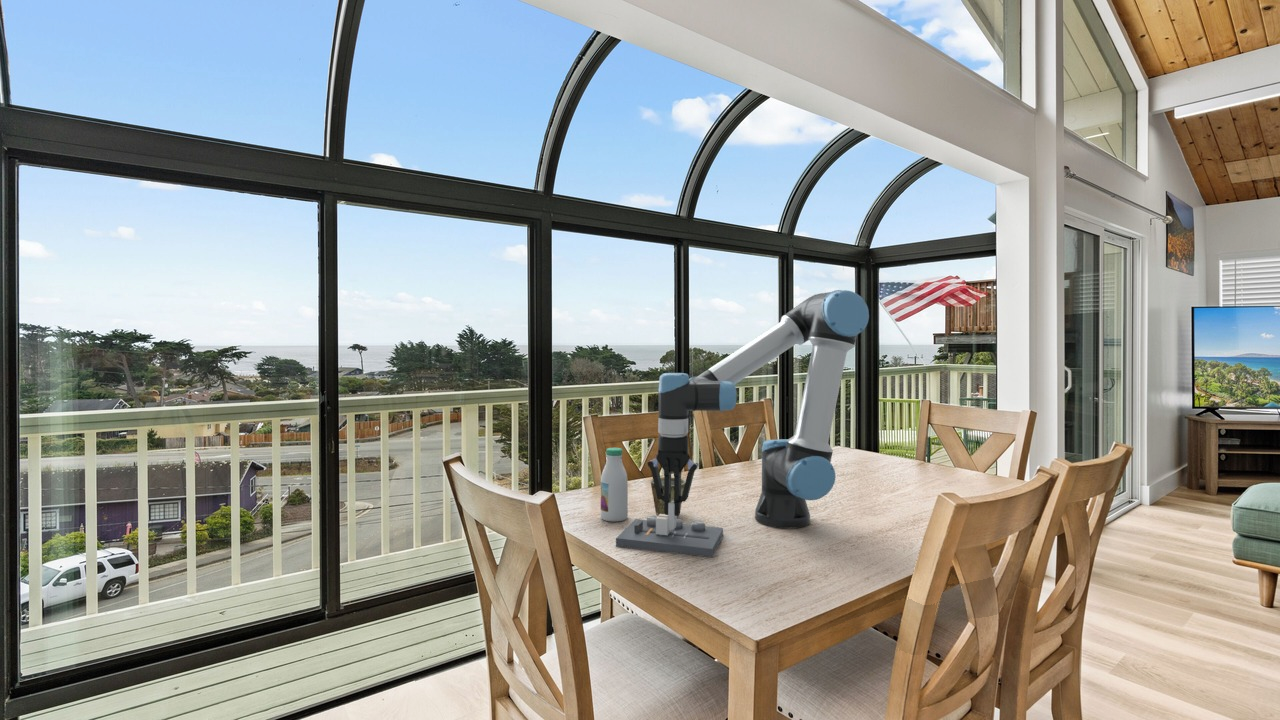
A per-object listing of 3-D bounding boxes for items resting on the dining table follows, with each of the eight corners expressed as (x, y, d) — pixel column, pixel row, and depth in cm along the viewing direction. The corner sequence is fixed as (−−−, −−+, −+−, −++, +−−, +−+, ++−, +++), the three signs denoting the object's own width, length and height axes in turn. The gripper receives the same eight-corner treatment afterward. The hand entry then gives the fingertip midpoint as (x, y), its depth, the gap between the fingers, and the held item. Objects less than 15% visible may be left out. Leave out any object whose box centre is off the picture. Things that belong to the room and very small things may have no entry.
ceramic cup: (679, 522, 163) (679, 486, 163) (645, 518, 166) (646, 483, 166) (691, 509, 175) (691, 476, 175) (660, 506, 179) (660, 473, 178)
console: (722, 535, 152) (723, 520, 152) (712, 557, 137) (712, 540, 137) (635, 526, 159) (635, 511, 159) (615, 546, 144) (616, 530, 144)
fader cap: (671, 530, 149) (671, 514, 149) (667, 535, 145) (667, 518, 145) (659, 529, 150) (659, 513, 150) (655, 534, 146) (655, 517, 146)
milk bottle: (629, 514, 170) (629, 446, 169) (625, 522, 162) (626, 451, 161) (602, 513, 171) (603, 445, 170) (598, 521, 163) (598, 450, 162)
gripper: (701, 433, 148) (700, 525, 148) (652, 431, 151) (651, 520, 152) (695, 438, 140) (694, 535, 141) (644, 435, 144) (643, 529, 145)
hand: (672, 527), depth 147 cm, fingers closed
